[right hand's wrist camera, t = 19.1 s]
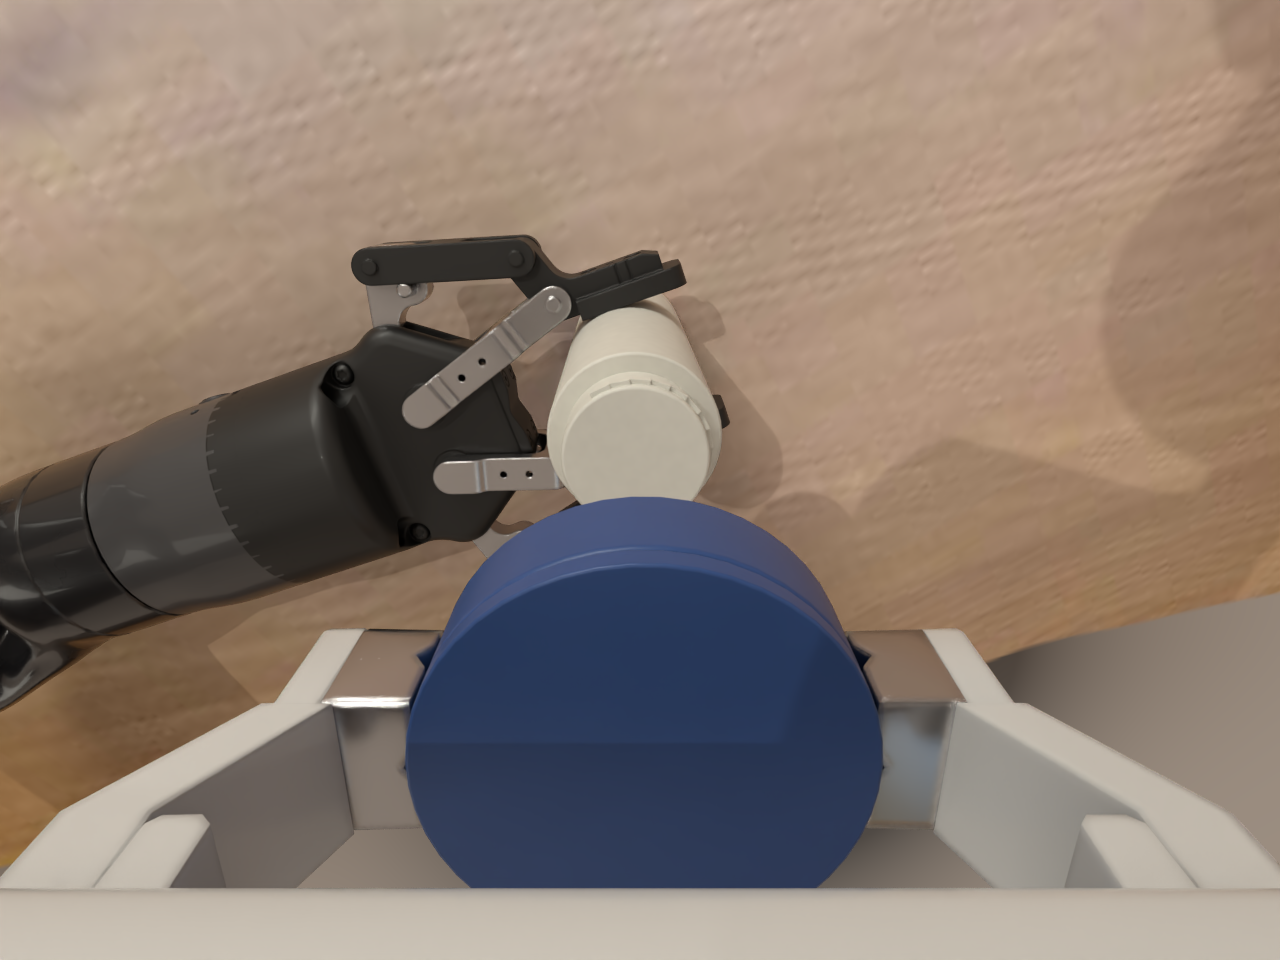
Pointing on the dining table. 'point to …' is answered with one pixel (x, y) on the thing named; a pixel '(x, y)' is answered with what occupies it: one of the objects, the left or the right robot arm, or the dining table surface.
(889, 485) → the dining table surface
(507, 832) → the lid
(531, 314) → the left robot arm
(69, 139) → the dining table surface
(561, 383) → the white bottle
